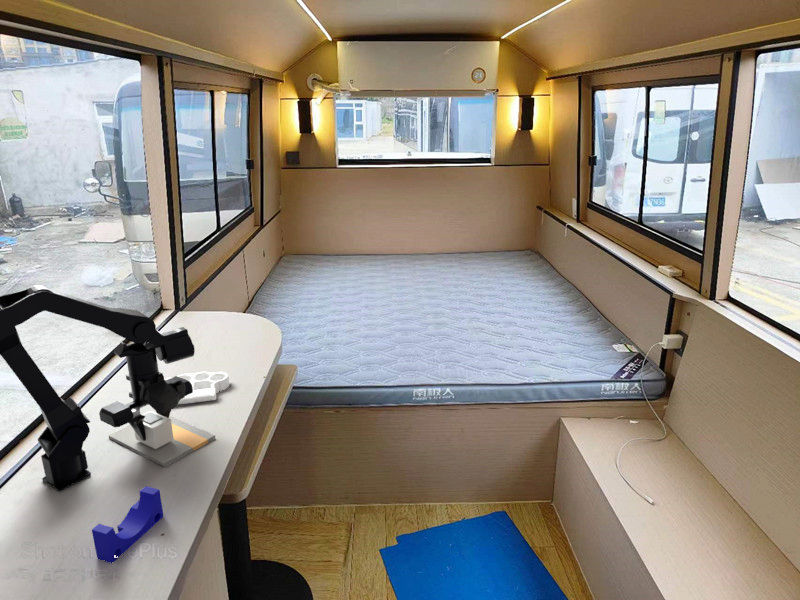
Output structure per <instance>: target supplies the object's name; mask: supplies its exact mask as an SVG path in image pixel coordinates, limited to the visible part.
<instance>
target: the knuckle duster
mask: <svg viewBox="0 0 800 600" xmlns="http://www.w3.org/2000/svg"><path fill="white" fill-rule="evenodd" d="M176 376H177V377H180V378H183V379H185V380H188V381H190V382H191V384H192V387H193V393H191V394H189V395H187V396H185V397H184V398H182V399H180V401H179V403H178V406H179V405H186V404H195V403H201V402H202V403H203V402H209V401H210V402H211V401H217V394H218V393H220V392H223V391H222V390H224V391H225V389H226V388H227V387H228V386H229V387H230V378H229V374H228V373H227V372H224V371H218V372H211V371H210V372H209V371H199V372H195V373H194V372H193V373H192V372H191V373H183V374H178V375H176ZM173 377H174V376H173ZM173 377H164V380H165V381H166V380H168V379H170V378H173ZM229 387H228V388H229ZM228 388H227V389H228ZM227 389H226V390H227ZM219 391H220V392H219ZM216 393H217V394H216Z"/></svg>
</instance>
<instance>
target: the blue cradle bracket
mask: <svg viewBox="0 0 800 600" xmlns="http://www.w3.org/2000/svg"><path fill="white" fill-rule="evenodd" d="M163 518H164V512H163V503H162V498H161V490H160V489H159V488H155V487H151V486H147V485H145V486H144V487H143V488H141V489H140V490H139V500H137V501H136V503H134V504H133V505H131V506H130V507H129V510H128V512H127V514H126V516H125V517H124V519H123V520H122V522H120V523H119V524H118V525H117V527H116V529H117V532H116V531H115V528H114V527H112V526H109V525H104V524H101V523H98V524H97V525H95V526H94V527H93V528H91V534H92V539H93V543H94V549H95V554H96V559H97V558H98V559H97V560H99V559H100V561H102V560H105V561H104V562H106V561H107V562H106V563H109V562H111V563H110V564H113V563H114V562H115V561H116V560H118V558H114V555H116V557H117V556H118V557H119V556H120V555H121V554H122V553H123V554H125V552H127V550H129V549H130V548H131V547H132V546H133V545H134V544H135V543H136V542H137V541H139V540H140V539H141V538H142V537H143V536H144V535H145V534H146V533H147V532H149V531H150V530H151V528H153V527H154V526H155V525H156V524H157V523H158V522H159V521H161V520H162V519H163ZM123 554H122V555H123ZM122 555H121V556H122ZM121 556H120V557H121ZM120 557H119V558H120ZM112 562H113V563H112Z"/></svg>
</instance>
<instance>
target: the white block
mask: <svg viewBox="0 0 800 600" xmlns="http://www.w3.org/2000/svg"><path fill="white" fill-rule="evenodd" d="M142 415H143V416H145V418H144V420H143V424H144V429H145V434H146V440H145V441H143V440H141V438H140V437H139V436H138V434H137V433H136V432H135V437H136V440H138V441H140V442H142V443H144V444H146V445H148V446H150V447H152V448H154V449H157V448H159V447H161V446H162V445H164V444H166V443H168V442H170V441H172V440H174V438H173V431H172V424H171V419H169V418H167V417H165V416H162V415H160V414H158V413H157V412H156V411H153V410H149V411H147V412H145V413H143V414H142ZM134 431H135V430H134Z"/></svg>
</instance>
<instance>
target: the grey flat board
mask: <svg viewBox="0 0 800 600" xmlns="http://www.w3.org/2000/svg"><path fill="white" fill-rule="evenodd" d="M169 419H171V424H172V431H173V438H174V440H172V441H170V442H168V443H166V444H164V445H162V446H161V447H159V448H157V449H154V448H152V447H150V446H148V445H146V444H144V443H142V442H140V441H138V440H136V437H135V431H134V429H133V428H132V426H131V425H130V424H129V425H128V426H126V427H123V428H121V429H119V430H117V431H114V432H113V433H110V434H108V439H109V440H111V441H114V442H115V443H116V444H119V445H121V446H122V447H124V448H127V449H128V450H131V451H132V452H135V453H136V454H138V455H140V456H141V457H144V458H146V459H148V460H150V461H152V462H154V463H156V464H158V465H160V466H161V467H164V468H166V467H168V466H169V465H172V464H173V463H174V462H176V461H178V460H179V459H181V458H182V459H183V457H185V456H187V455H188V454H190V453H192V452H194V451H196V450H197V449H199V448H202V447H203V446H204V445H207V444H208V443H210V442H212V441H214V440H216V434H212V433H210V432H208V431H206V430H204V429H201V428H199V427H197V426H195V425H192V424H189V423H188V422H185V421H183V420H181V419H178V418H176V417H174V416H173V415H172V416H171V415H169Z"/></svg>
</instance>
